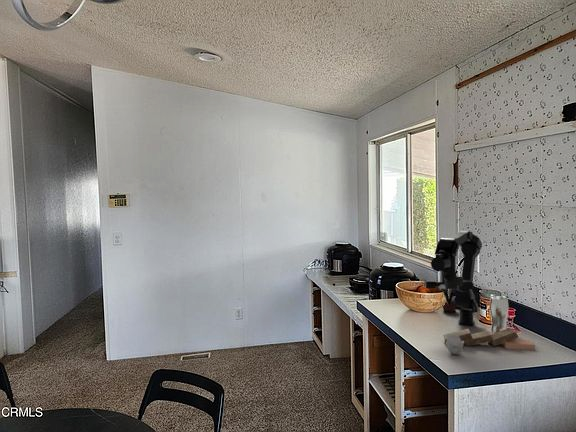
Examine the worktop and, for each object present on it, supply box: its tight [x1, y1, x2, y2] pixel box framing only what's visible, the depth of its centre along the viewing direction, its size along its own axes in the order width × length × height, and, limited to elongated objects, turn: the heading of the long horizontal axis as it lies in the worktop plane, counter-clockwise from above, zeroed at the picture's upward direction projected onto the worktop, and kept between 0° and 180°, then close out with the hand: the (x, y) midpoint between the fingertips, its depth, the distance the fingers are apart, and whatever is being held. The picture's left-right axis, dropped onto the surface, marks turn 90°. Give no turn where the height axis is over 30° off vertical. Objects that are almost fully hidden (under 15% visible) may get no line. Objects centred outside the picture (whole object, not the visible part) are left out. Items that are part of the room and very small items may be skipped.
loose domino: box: [501, 338, 536, 351], centre depth 152 cm, size 2×5×10 cm
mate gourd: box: [442, 295, 457, 315], centre depth 198 cm, size 8×8×15 cm
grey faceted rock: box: [445, 334, 464, 355], centre depth 147 cm, size 6×7×7 cm
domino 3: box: [487, 327, 519, 347], centre depth 155 cm, size 2×5×10 cm
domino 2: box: [463, 330, 494, 347], centre depth 155 cm, size 2×5×10 cm
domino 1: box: [442, 328, 473, 343], centre depth 157 cm, size 2×5×10 cm
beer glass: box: [489, 295, 509, 334], centre depth 168 cm, size 7×7×15 cm
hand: (448, 304), depth 167 cm, fingers closed
